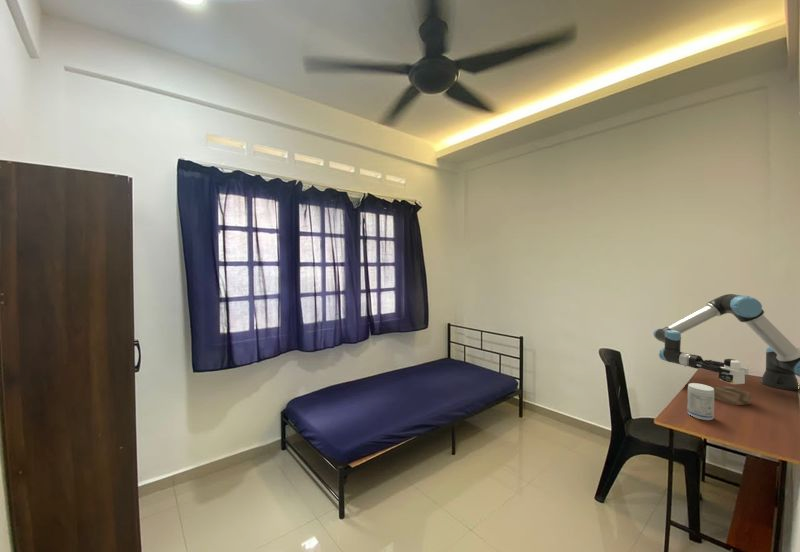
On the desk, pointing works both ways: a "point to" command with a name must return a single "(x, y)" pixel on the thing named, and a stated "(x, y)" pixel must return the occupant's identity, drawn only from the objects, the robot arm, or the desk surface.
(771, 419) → the desk surface
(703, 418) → the supplement tub
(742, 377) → the medicine bottle
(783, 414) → the desk surface
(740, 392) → the walnut block
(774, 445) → the desk surface
